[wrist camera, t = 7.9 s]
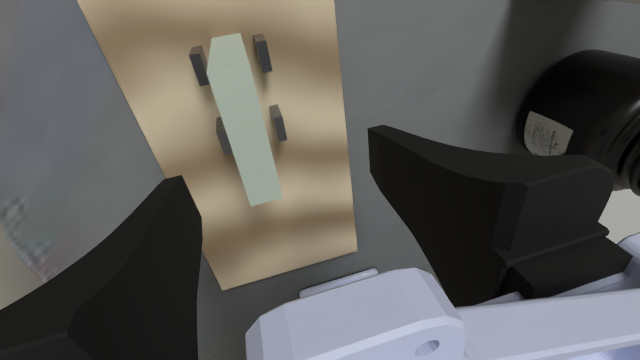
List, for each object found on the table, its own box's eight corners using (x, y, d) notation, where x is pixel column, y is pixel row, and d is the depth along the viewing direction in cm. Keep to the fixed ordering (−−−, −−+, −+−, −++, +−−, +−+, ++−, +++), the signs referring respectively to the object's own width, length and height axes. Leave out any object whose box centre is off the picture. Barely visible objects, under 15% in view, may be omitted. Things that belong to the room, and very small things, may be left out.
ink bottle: (490, 132, 26) (647, 227, 17) (569, 24, 23) (829, 65, 13) (555, 164, 30) (711, 255, 21) (630, 77, 27) (861, 138, 17)
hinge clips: (282, 126, 20) (287, 140, 19) (224, 140, 20) (224, 155, 18) (261, 33, 17) (266, 40, 15) (192, 47, 17) (188, 55, 15)
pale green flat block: (265, 134, 20) (283, 197, 15) (242, 139, 20) (250, 206, 14) (240, 32, 17) (249, 64, 11) (211, 38, 17) (206, 73, 11)
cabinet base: (353, 242, 29) (357, 250, 28) (222, 281, 28) (222, 290, 27) (323, -52, 17) (328, -53, 16) (79, -13, 15) (70, -12, 14)
